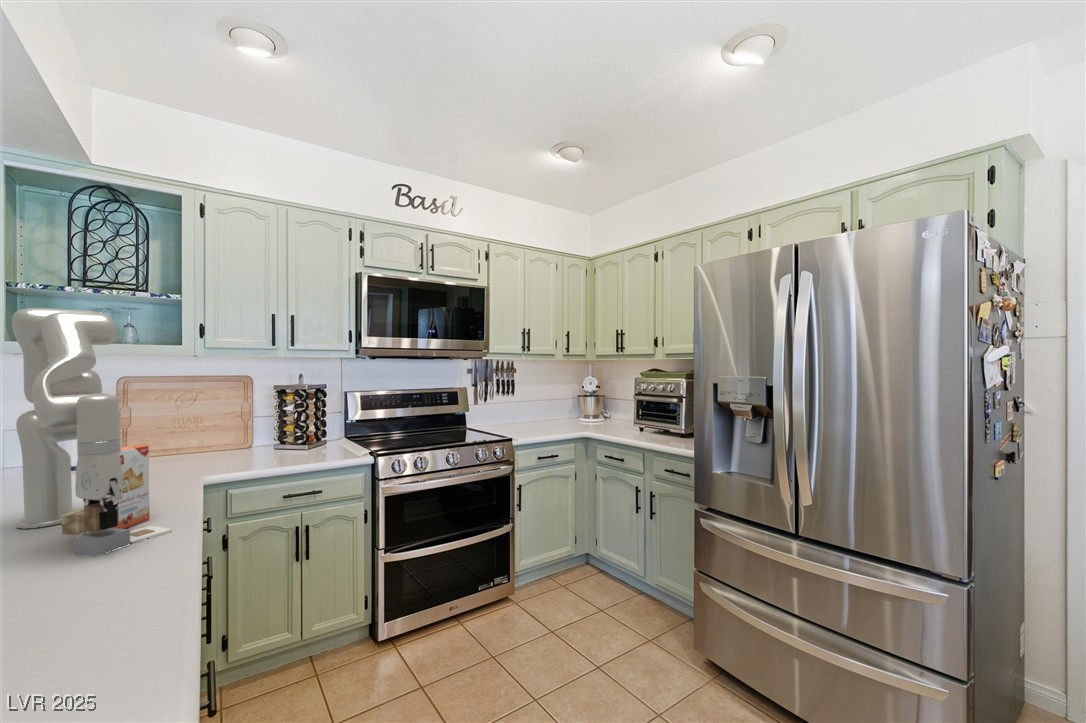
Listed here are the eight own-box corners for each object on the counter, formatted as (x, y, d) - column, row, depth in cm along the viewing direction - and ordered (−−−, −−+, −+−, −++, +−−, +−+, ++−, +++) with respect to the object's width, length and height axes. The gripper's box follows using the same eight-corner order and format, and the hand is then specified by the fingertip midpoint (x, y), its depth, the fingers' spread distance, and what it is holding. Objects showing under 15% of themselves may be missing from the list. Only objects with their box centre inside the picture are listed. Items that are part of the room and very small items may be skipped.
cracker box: (107, 537, 124) (104, 453, 124) (83, 537, 125) (80, 454, 125) (152, 519, 138) (149, 444, 138) (130, 519, 139) (128, 444, 139)
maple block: (62, 534, 128) (61, 515, 128) (79, 528, 132) (78, 510, 132) (78, 534, 128) (78, 514, 128) (95, 528, 132) (94, 509, 132)
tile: (109, 539, 122) (109, 536, 122) (150, 528, 131) (150, 525, 131) (131, 543, 119) (131, 540, 119) (172, 531, 127) (171, 528, 127)
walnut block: (84, 530, 114) (83, 506, 114) (107, 523, 119) (106, 500, 119) (95, 532, 113) (94, 507, 113) (119, 525, 117) (118, 502, 117)
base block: (74, 555, 113) (73, 538, 113) (107, 544, 120) (107, 527, 120) (97, 557, 111) (97, 539, 111) (130, 546, 118) (129, 529, 118)
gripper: (58, 449, 115) (61, 528, 115) (101, 452, 109) (104, 536, 109) (97, 444, 122) (100, 518, 122) (140, 447, 116) (142, 525, 116)
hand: (102, 525), depth 116 cm, fingers closed on walnut block, 4 cm apart
